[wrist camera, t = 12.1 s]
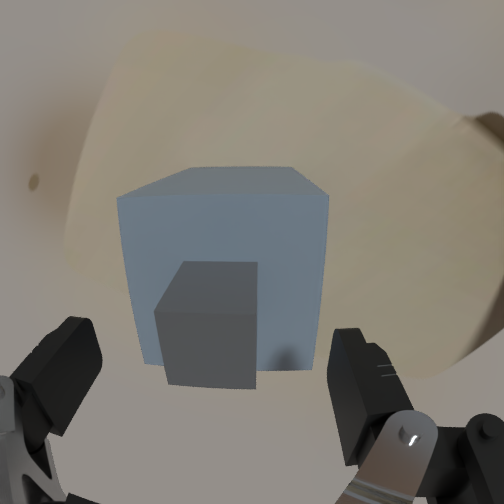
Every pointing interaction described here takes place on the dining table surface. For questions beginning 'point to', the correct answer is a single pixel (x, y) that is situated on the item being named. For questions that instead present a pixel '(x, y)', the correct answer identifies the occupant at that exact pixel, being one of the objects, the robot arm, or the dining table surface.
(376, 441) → the robot arm
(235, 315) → the cover
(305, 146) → the dining table surface
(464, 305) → the dining table surface
